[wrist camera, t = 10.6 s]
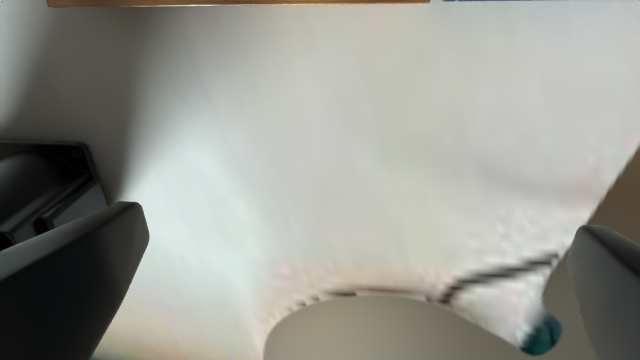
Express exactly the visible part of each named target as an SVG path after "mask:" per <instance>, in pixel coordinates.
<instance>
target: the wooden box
mask: <svg viewBox="0 0 640 360" xmlns="http://www.w3.org/2000/svg"><path fill="white" fill-rule="evenodd" d="M429 2H430V0H47V4H48V6H49V7H50V8H56V7H148V6H239V5H330V4H421V3H429Z"/></svg>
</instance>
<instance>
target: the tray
mask: <svg viewBox="0 0 640 360" xmlns="http://www.w3.org/2000/svg"><path fill="white" fill-rule="evenodd" d="M442 1H456V0H442ZM457 1H531V0H457Z"/></svg>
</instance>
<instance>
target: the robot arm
mask: <svg viewBox="0 0 640 360" xmlns="http://www.w3.org/2000/svg"><path fill="white" fill-rule="evenodd" d="M77 150H79V151H80V152H81V154H80V153H79V152H78V151H77ZM148 242H149V230H148V227H147V223H146V219H145V216H144V212H143V209H142V206H141V205H140V204H139V203H137V202H125V201H121V202H117V203H115V204H112V205H110V206H108V205H107V202H106V199H105V196H104V193H103V190H102V187H101V184H100V181H99V178H98V174H97V171H96V168H95V165H94V162H93V159H92V156H91V153H90V150H89V148H88V147H87V146H86V145H85V144H84V143H82V142H69V141H37V140H6V139H0V360H90V358H91V356H92V355H93V353H94V351H95V349H96V348H97V346H98V344H99V342H100V341H101V339H102V337H103V335H104V334H105V332H106V330H107V328H108V327H109V325H110V323H111V321H112V320H113V318H114V316H115V314H116V313H117V311H118V309H119V307H120V305H121V303H122V301H123V299H124V297H125V295H126V293H127V291H128V289H129V286H130V284H131V282H132V279H133V277H134V275H135V273H136V270H137V268H138V266H139V264H140V261H141V259H142V257H143V254H144V252H145V250H146V248H147V245H148ZM567 270H568V274H569V277H570V280H571V284H572V287H573V291H574V294H575V297H576V301H577V304H578V308H579V311H580V314H581V317H582V321H583V324H584V328H585V331H586V334H587V337H588V340H589V343H590V345H591V347H592V350H593V353H594V355H595V357H596V360H640V245H639V244H637V243H635V242H633V241H631V240H629V239H627V238H626V237H624V236H622V235H620V234H618V233H616V232H615V231H613V230H611V229H609V228H607V227H604V226H593V225H583V226H581V227H579V228H578V230H577V232H576V235H575V238H574V241H573V243H572V246H571V249H570V252H569V255H568V259H567Z"/></svg>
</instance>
